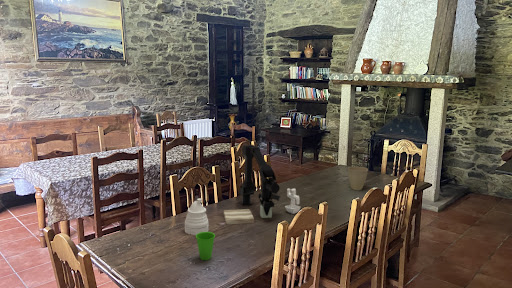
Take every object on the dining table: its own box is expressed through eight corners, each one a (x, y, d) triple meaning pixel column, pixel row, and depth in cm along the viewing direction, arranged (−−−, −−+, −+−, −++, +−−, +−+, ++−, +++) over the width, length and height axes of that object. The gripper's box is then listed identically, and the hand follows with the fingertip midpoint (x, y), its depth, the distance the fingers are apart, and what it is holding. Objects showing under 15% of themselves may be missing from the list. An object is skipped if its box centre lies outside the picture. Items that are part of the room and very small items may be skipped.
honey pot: (212, 227, 216) (212, 196, 213) (201, 236, 204) (201, 203, 201) (191, 224, 220) (191, 193, 217) (180, 232, 208) (179, 200, 205)
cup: (196, 253, 185) (196, 231, 183) (215, 253, 186) (215, 231, 184) (195, 262, 176) (194, 239, 174) (215, 262, 177) (215, 239, 175)
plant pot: (369, 188, 297) (370, 168, 294) (363, 193, 284) (364, 172, 282) (350, 185, 305) (351, 165, 302) (343, 189, 292) (344, 169, 289)
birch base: (223, 214, 237) (223, 210, 236) (249, 213, 240) (249, 209, 239) (226, 224, 221) (226, 220, 221) (254, 222, 224) (254, 218, 224)
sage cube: (259, 214, 238) (260, 205, 237) (269, 213, 239) (269, 204, 238) (261, 217, 232) (262, 208, 231) (271, 217, 233) (271, 207, 232)
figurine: (294, 215, 237) (295, 192, 234) (283, 211, 244) (283, 188, 241) (302, 212, 242) (303, 189, 239) (290, 208, 248) (291, 186, 246)
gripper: (283, 192, 225) (282, 218, 228) (275, 183, 243) (275, 207, 246) (264, 193, 223) (263, 219, 226) (258, 184, 241) (257, 208, 244)
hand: (265, 213), depth 235 cm, fingers closed on sage cube, 6 cm apart
